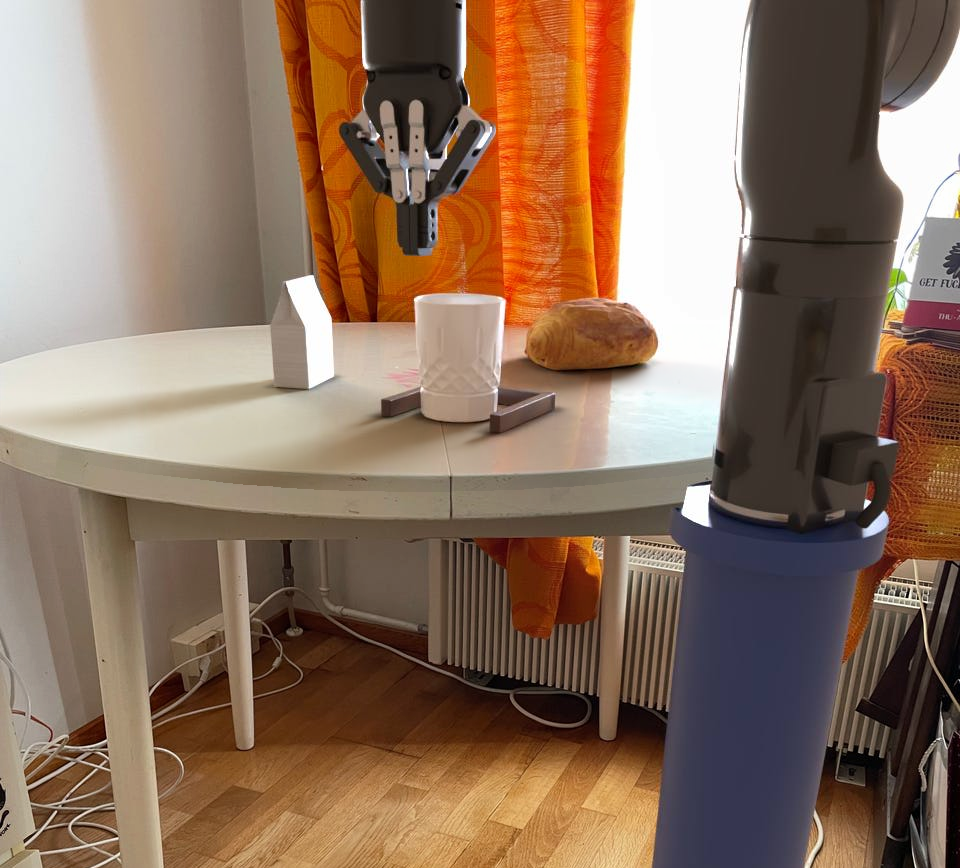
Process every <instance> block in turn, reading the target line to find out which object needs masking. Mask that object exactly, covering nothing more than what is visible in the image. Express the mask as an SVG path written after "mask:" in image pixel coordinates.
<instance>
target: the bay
mask: <svg viewBox="0 0 960 868" xmlns="http://www.w3.org/2000/svg"><path fill="white" fill-rule="evenodd" d="M420 389H421V386H419V387H415V388H412V389H409V390H405V391H403V392H399V393H397V394H394V395H390V396H386V397H384V398H381V399H380V413H381V415H380V416H382V417H388V418H391V417H394V416H397V415H400V414H403V413H406V412H408V411H412V410H414V409H417V408H419V407H420V408H421V390H420ZM497 389H498V400H497V405H502V406H507V407H504V408H502V409H500V410H497V412H494V413H492V414H490V419H489V433H496V434H501V433H504V432H506V431H508V430H510V429H513V428H515V427H517V426H519V425H521V424H524V423H526V422H529V421H530V420H533V419H535V418H537V417H539V416H542V415H544V414H547V413H549V412H551V411H554V410H555V408H556V392H551V391H542V390H534V389H527V388H519V387H511V386H503V385H499V386H498V387H497Z"/></svg>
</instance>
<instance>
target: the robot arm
mask: <svg viewBox="0 0 960 868" xmlns="http://www.w3.org/2000/svg"><path fill="white" fill-rule="evenodd" d="M360 17H361V18H360V19H361V22H360V23H361V46H362V47H361V48H362V64H363V65H362V66H363V67H364V70H365V74H366V86H365V90H364V92H363V95H362V107H363V108H362V109H361V110H360V112H359V113H358V114H356V116H355V117H354V118H353V120H352V121H342V122H341V123H340V124H339V126H338V134H339V137H340V138H341V139H342V141H343V142H344V144H345V146H346V148H347V149H348V151H349V153H350V154H351V156H352V157H353V159H354V160H355V162H356V163H357V165H358V166H359V169H360V170H361V171H362V173H363V175H364V176H365V178H366V180H367V181H368V183H369V184H370V186H371V187H372V189H373V190H374V192H375V193H377V194H383V195H384V196H386V197H389V198H391V199H392V200H393V201H394V204H395V208H396V211H395V212H396V213H395V214H396V241H397V244H398V247H399V248H401V250H402V255H404V256H407V257H408V256H410V257H427V256H431V255H432V254H433V248H436V247H437V244H438V205H439V202H440V201H441V200H442V199H444V198H446V197H448V196H450V195H457V194H459V193H460V191H461V190H462V189H463V187H464V185H465V184H466V182H467V180H468V179H469V177H470V175H471V174H472V172H473V170H474V169H475V168H476V166H477V165H478V162H479V161H480V160H481V158H482V156H483V154H484V153H485V152H486V150H487V148H488V147H489V145H490V143H491V142H492V140H493V139H494V137H495V135H496V131H497V130H496V129H497V128H496V124H494V122H492V121H489V120H485V119H483V118H482V117H481V116H480V115H478V113H476V111H475V110H474V109H473V108H472V107H470V94H469V92H468V89H467V87H466V84H465V81H464V73H465V69H466V65H467V0H360ZM959 35H960V0H749V4H748V9H747V14H746V18H745V24H744V29H743V36H742V43H741V55H740V56H741V57H740V66H739V67H740V68H739V82H738V85H739V86H738V99H737V100H738V101H737V115H736V116H737V117H736V128H735V130H736V131H735V142H734V143H735V145H734V162H733V163H734V168H733V169H734V181H735V186H736V191H737V194H738V197H739V202H740V206H741V222H740V223H741V224H740V231H739V234H741V235H740V236H739V241H738V247H737V249H738V250H737V256H736V257H737V258H736V266H735V275H734V284H733V285H734V286H733V290H732V298H731V299H732V300H731V307H730V317H729V326H728V335H727V343H726V352H725V361H724V369H723V376H722V377H723V378H722V385H721V394H720V405H719V413H718V421H717V431H716V438H715V444H712V452H711V453H712V454H711V456H712V457H711V458H712V476H711V478H712V479H711V481H712V484H711V485H710V488H709V497H708V504H709V506H710V507H711V508H712V509H713V510H714V511H716V512H717V513H719V514H721V515H723V516H725V517H728V518H731V519H733V520H736V521H740V522H744V523H747V524H752V525H757V526H763V527H770V528H778V529H786V530H789V531H793V532H795V533H799V534H805V533H809V532H813V531H817V530H821V529H825V528H829V527H832V526H836V525H840V524H844V523H848V522H852V521H855V523H856V524H857V525H858V526H859V527H861V528H865V529H866V528H868V527H869V526H870V525H871V524H872V523H873V522H874V521H875V520H876V519H877V518H878V517H879V516H880V515H881V514H882V512H883V511H886V508H887V506H888V504H889V502H890V499H891V493H892V486H891V480H890V478H893V477H894V472H895V468H896V462H897V458H898V453H899V452H898V451H899V448H900V447H899V446H900V441H896V440H894V439H893V440H892V439H889V438H885V437H880V436H878V433H879V429H880V422H881V417H882V412H883V407H884V400H885V396H886V395H885V394H886V390H887V384H888V378H887V377H888V376H887V374H886V373H885V372H883V371H878V370H876V366H877V359H878V358H877V357H878V352H879V348H880V341H881V334H882V329H883V324H884V323H883V322H884V319H885V318H884V317H885V312H886V307H887V302H888V294H889V290H890V284H891V278H892V273H893V267H894V263H895V255H896V251H897V244H898V241H897V240H898V239H899V235H900V229H901V224H902V218H903V213H904V203H905V201H904V195H903V192H902V189H901V188H900V187H899V186H898V185H897V184H896V183H895V181H893V180H892V179H891V177H890V176H889V175H888V173H887V172H886V170H885V168H884V165H883V163H882V160H881V156H880V151H879V146H878V145H879V129H880V117H881V115H884V114H885V115H886V114H891V113H894V112H898V111H901V110H904V109H906V108H907V107H909V106H911V105H913V104H914V103H915V102H918V100H920V99H921V98H922V97H923V96H925V95H926V93H928V91H929V90H930V89H931V88H932V87H933V86H934V85H935V84H936V83H937V81H938V79H939V78H940V76H941V75H942V73H943V72H944V70H945V69H946V67H947V65H948V63H949V61H950V59H951V57H952V54H953V53H954V50H955V47H956V44H957V41H958V39H959V38H958V37H959ZM454 135H455V138H456V141H455V143H454V144H453V145H452V147H451V149H450V151H449V152H448V154H447V149H448V145H449V144H450V142H451V140H452V139H453V136H454ZM379 138H380V141H382V143H383V145H384V149H383V148H382V146H381V145H380V143H379V142H378V139H379ZM872 482H873V487H874V493H873V497H872V499H871V503H870V504H869V505H868V506H867V507H866V508H865V509H864V505H865V500H866V499H867V494H868V488H869V483H872Z"/></svg>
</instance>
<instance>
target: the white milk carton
mask: <svg viewBox="0 0 960 868" xmlns="http://www.w3.org/2000/svg"><path fill="white" fill-rule="evenodd" d="M317 286H318V285H317V283H316V281H315V277H314V274H312V275H305V276H301V277H298V278H293V279H289V280H285V281H282V285H281V291H280V295H279V299H278V302H277V305H276V308H275V311H274V314H273V316H272V318H271V319H272V320H271V322H270V325H269V326H270V340H271V356H272V370H273V384H274V387H275V388H286V389H287V388H289V389H303V390H304V389H305V390H310V389H312V388H314V387H317V386H318V385H320V384H322V383H324V382H326V381H328V380H330V379H332V378H334V377H335V369H334V348H333V327H332V323H333V322H332V316H331V314H330V313H329V310H328V308H327V306H326V304H325V302H324V300H323V297H322V296H321V294H320V291H319V289H318V287H317Z"/></svg>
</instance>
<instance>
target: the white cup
mask: <svg viewBox="0 0 960 868" xmlns="http://www.w3.org/2000/svg"><path fill="white" fill-rule="evenodd" d="M413 303H414V321H415V341H416V343H415V345H416V358H417V367H418V371H417V373H418V374H417V375H418V383H419V385H420V387H421V389H420V390H421V406H420V408H421V409H420V411H421V414H422V415H423V416H424V417H425V418H427V419H430V420H434V421H441V422H449V423H465V424H466V423H476V422H481V421H487V420H490V414H492V413H494V412H497V411H498V404H497V400H498V389H497V387H498V386H500V381H501V369H502V367H501V366H502V358H503V347H504V333H505V331H504V330H505V316H506V303H507V300H506V299H505V298H504V297H502V296H497V295H493V294H492V295H491V294H484V293H483V294H481V293H461V292H458V293H456V292H453V293H452V292H447V293H429V294H428V293H427V294H422V295H417V296H415V297H414V298H413Z"/></svg>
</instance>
